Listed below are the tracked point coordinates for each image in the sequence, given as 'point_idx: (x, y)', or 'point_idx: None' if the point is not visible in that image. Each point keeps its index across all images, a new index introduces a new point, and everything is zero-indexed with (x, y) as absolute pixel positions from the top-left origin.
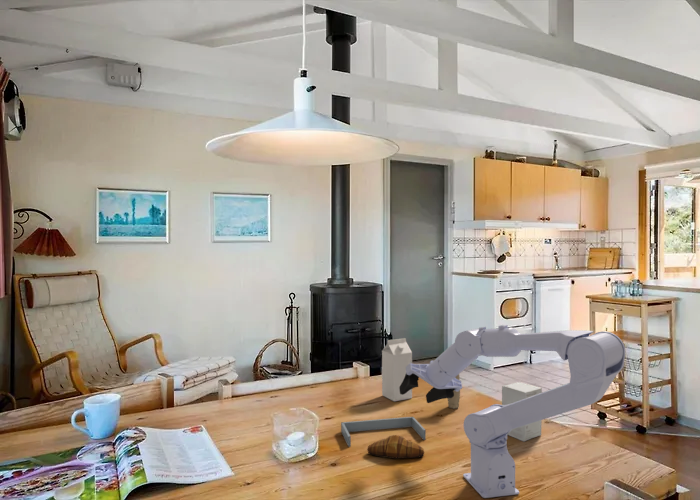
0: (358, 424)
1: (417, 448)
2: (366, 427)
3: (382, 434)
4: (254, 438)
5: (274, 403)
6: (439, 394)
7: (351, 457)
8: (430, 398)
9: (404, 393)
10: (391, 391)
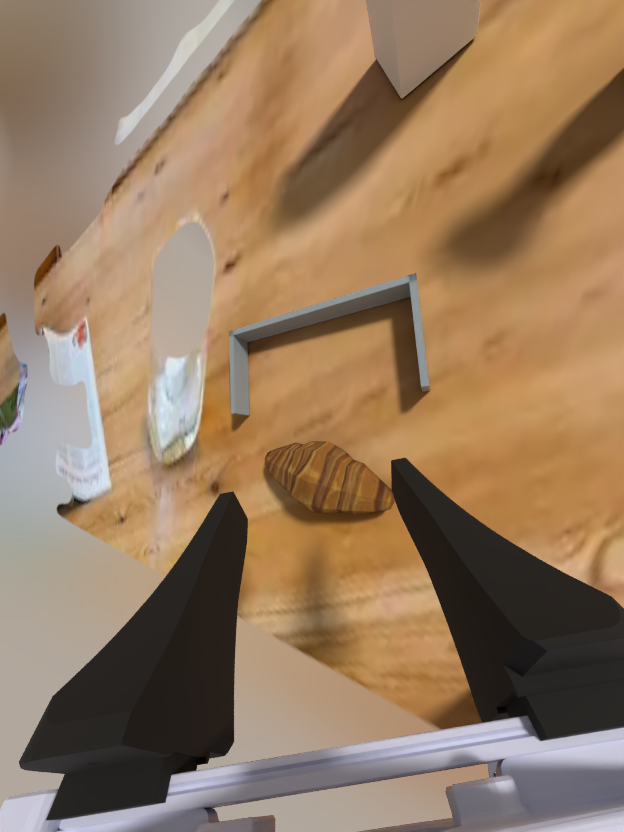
0: (266, 329)
1: (369, 511)
2: (287, 327)
3: (322, 353)
4: (130, 368)
5: (158, 205)
6: (448, 610)
7: (244, 466)
8: (405, 514)
9: (244, 541)
10: (391, 54)
